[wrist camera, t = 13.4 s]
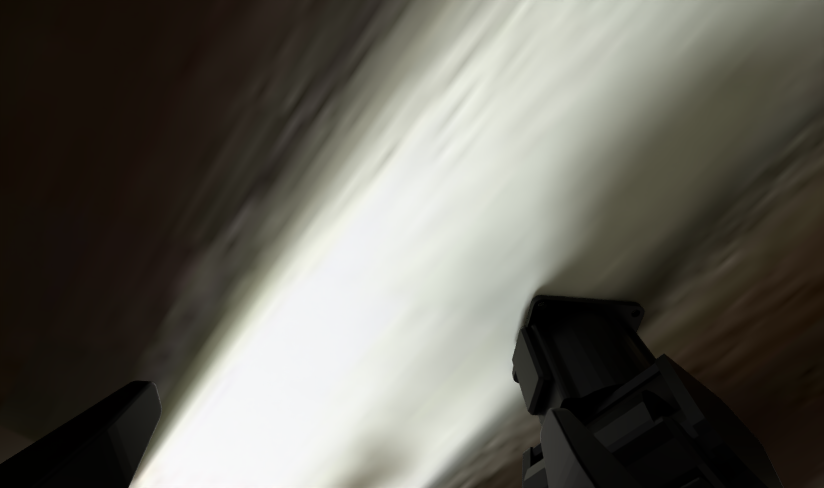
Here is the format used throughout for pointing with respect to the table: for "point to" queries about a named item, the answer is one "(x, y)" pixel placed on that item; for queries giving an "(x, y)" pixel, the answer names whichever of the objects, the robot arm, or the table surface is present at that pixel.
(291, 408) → the table surface
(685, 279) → the table surface
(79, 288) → the table surface
